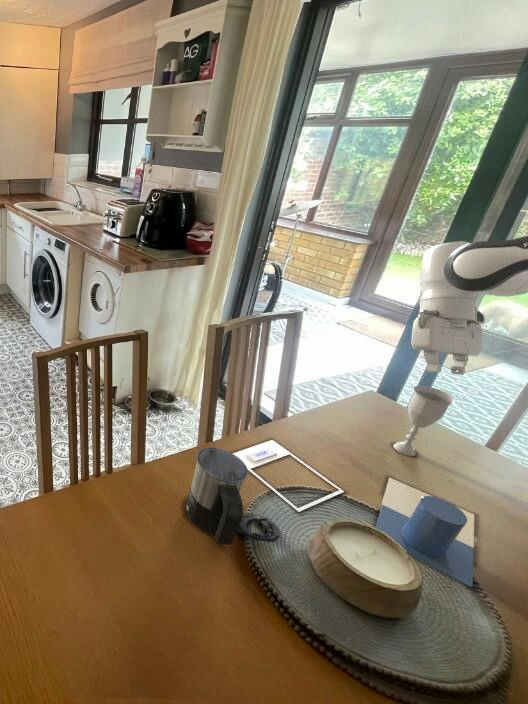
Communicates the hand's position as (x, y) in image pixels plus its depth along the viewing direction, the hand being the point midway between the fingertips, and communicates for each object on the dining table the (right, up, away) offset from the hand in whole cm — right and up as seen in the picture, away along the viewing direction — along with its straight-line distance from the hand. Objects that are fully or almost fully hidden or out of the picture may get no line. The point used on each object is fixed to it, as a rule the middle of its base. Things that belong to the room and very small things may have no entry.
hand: (446, 373), depth 93 cm
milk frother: (-54, -30, -8) cm, 63 cm away
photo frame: (-35, -25, +3) cm, 43 cm away
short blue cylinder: (-18, -32, -13) cm, 39 cm away
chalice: (0, -22, +11) cm, 24 cm away
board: (-15, -31, -9) cm, 35 cm away
